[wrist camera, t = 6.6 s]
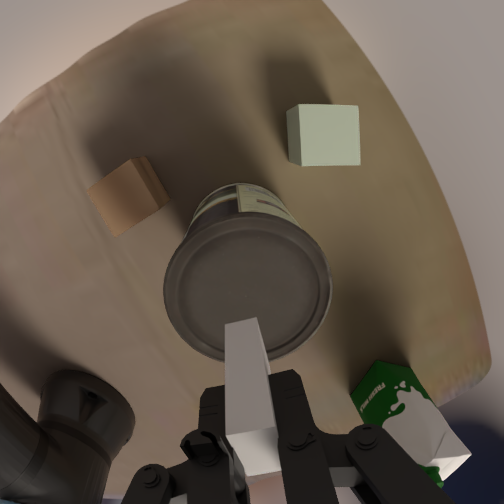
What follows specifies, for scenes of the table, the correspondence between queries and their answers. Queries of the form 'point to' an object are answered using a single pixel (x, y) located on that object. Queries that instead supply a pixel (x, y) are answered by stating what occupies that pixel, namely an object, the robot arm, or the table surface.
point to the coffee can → (247, 274)
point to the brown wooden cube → (128, 195)
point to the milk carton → (409, 418)
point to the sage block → (323, 135)
